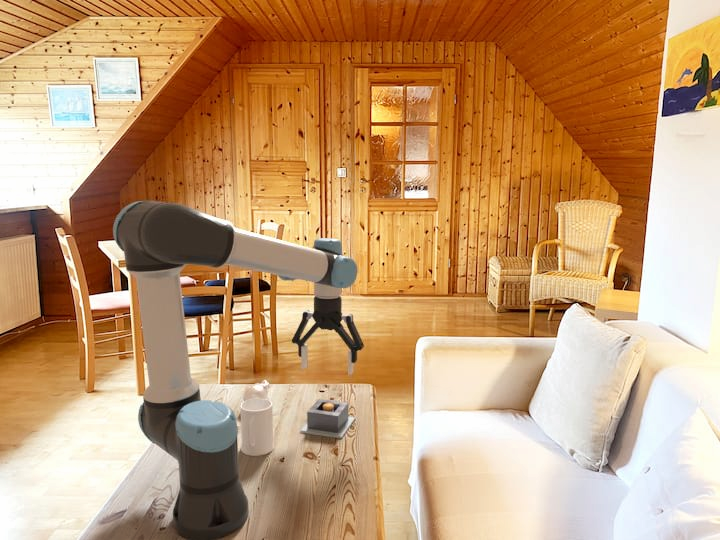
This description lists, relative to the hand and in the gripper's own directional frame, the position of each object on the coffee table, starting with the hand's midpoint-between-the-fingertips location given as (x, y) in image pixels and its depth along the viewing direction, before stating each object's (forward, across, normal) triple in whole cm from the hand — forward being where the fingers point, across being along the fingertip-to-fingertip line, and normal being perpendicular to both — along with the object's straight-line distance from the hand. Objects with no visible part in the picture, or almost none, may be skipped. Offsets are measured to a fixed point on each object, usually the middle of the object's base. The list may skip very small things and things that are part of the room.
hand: (327, 370), depth 151 cm
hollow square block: (+16, 0, 0) cm, 16 cm away
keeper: (+16, 0, 0) cm, 16 cm away
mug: (+17, +13, +18) cm, 28 cm away
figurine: (+17, +25, -8) cm, 32 cm away
